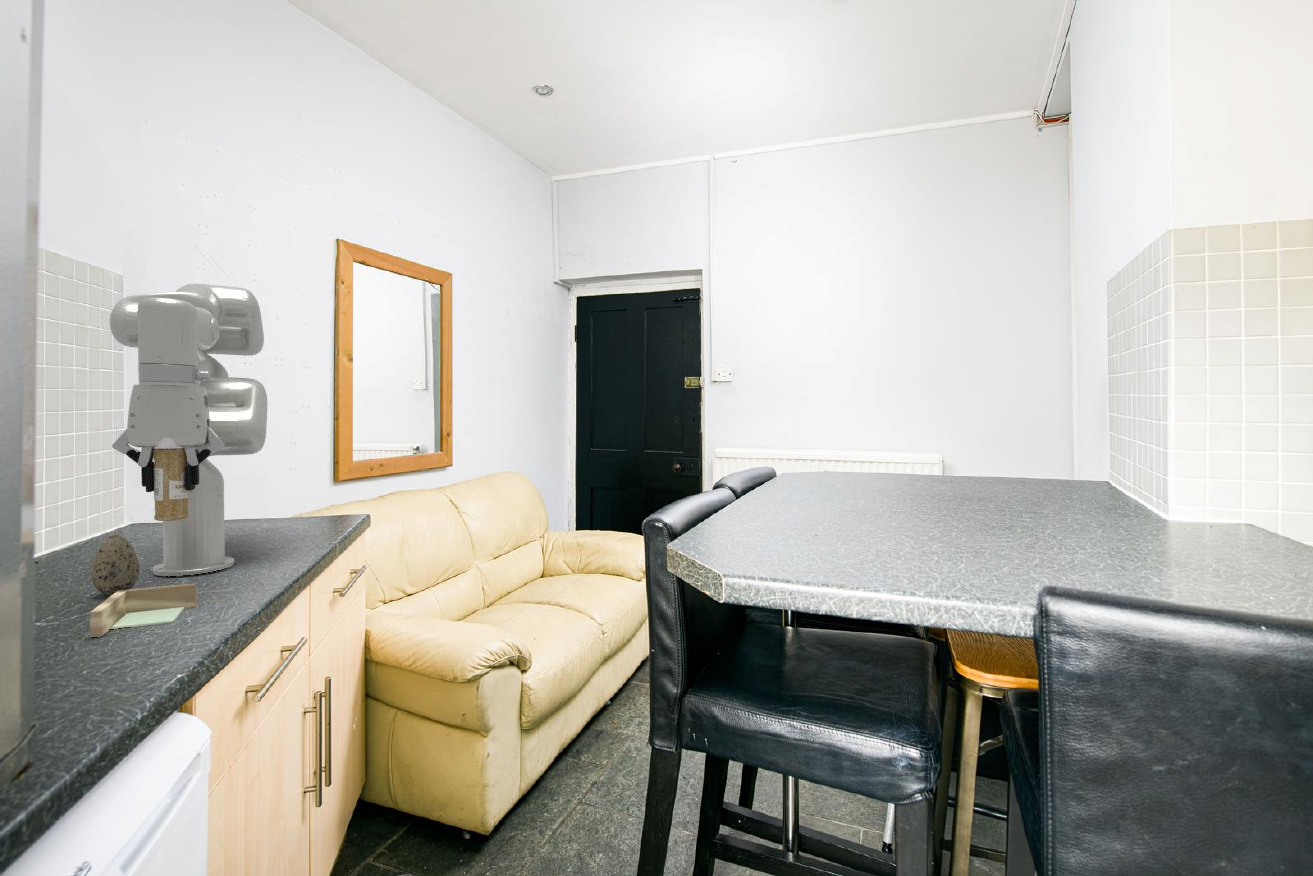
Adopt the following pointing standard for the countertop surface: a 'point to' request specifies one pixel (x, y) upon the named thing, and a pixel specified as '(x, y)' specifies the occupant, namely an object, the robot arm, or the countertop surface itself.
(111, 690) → the countertop surface
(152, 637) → the countertop surface
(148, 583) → the countertop surface
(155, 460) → the sprinkles bottle
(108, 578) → the decorative egg
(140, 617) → the pad
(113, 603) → the corner walls
